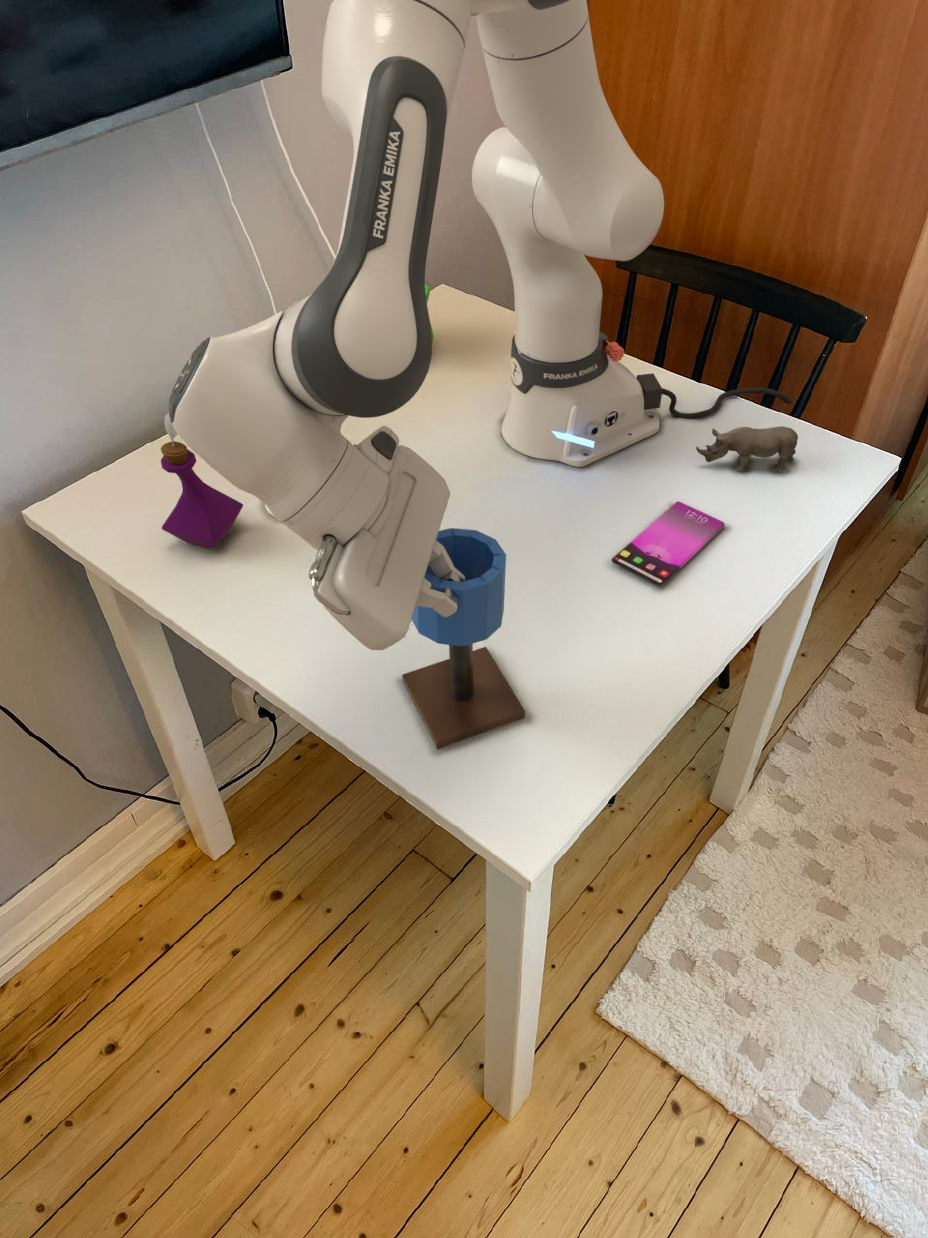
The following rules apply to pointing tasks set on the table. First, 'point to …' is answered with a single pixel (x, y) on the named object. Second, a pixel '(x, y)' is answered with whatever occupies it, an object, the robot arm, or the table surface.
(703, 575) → the table surface
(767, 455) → the rhino figurine
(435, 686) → the stand
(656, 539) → the smartphone
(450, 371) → the table surface
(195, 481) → the perfume bottle
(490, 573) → the tape roll
